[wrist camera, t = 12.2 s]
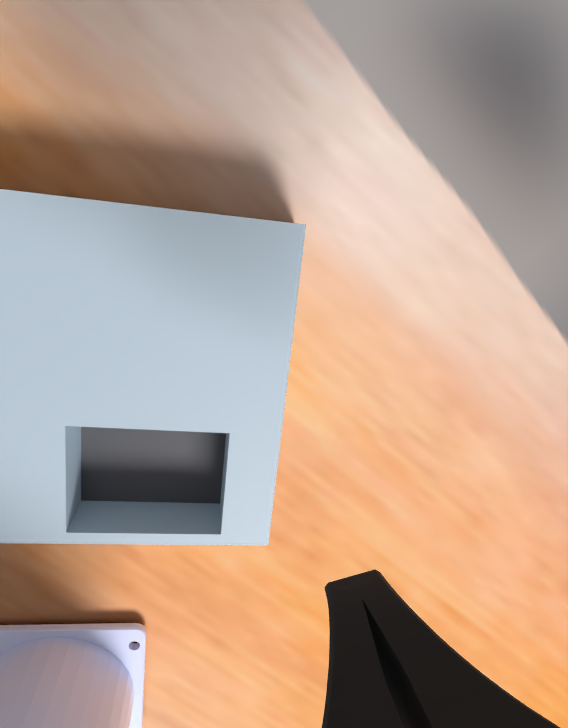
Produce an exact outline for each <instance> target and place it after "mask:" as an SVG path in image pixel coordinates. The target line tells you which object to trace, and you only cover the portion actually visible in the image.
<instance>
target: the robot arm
mask: <svg viewBox="0 0 568 728" xmlns="http://www.w3.org/2000/svg"><path fill="white" fill-rule="evenodd" d="M325 592H326V596H327V600H328V607H329V622H330V650H329V670H328V682H327V693H326V702H325V710H324V717H323V724H322V728H560V727H558V726H557V725H555V724H554V723H552V722H551V721H549V720H547V719H546V718H544V717H543V716H541V715H540V714H538V713H536V712H535V711H533V710H532V709H530V708H529V707H527V706H526V705H524V704H523V703H521V702H520V701H519V700H517V699H516V698H514V697H513V696H512V695H510V694H509V693H507V692H506V691H505V690H503V689H502V688H501V687H499V686H498V685H497V684H495V683H494V682H493V681H491V680H490V679H489V678H487V677H486V676H485V675H484V674H482V673H481V672H480V671H479V670H477V669H476V668H475V667H474V666H472V665H471V664H470V663H469V662H468V661H466V660H465V659H464V658H463V657H462V656H461V655H459V654H458V653H457V652H456V651H455V650H454V649H453V648H451V647H450V646H449V645H448V644H447V643H446V642H445V641H444V640H443V639H441V638H440V637H439V636H438V635H437V634H436V633H435V632H434V631H433V630H432V629H431V628H430V627H429V626H428V625H427V624H426V623H425V622H424V621H423V620H422V619H421V618H420V617H419V616H418V615H417V614H416V613H415V612H414V611H413V610H412V609H411V608H410V607H409V606H408V605H407V604H406V603H405V602H404V600H403V599H402V598H401V597H400V596H399V595H398V594H397V593H396V592H395V590H394V589H393V588H392V587H391V586H390V584H389V583H388V582H387V581H386V579H385V578H384V577H383V576H382V574H381V573H380V572H379V571H377V570H372V571H368V572H365V573H361V574H358V575H354V576H350V577H347V578H343V579H340V580H336V581H333V582H329V583H328V584H327V585H326V586H325ZM133 641H136V642H138V643H136V644H135V643H132V642H133ZM145 652H146V628H145V627H144V625H142V624H140V623H102V624H42V625H0V728H142V720H143V697H144V675H145Z"/></svg>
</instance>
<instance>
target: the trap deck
mask: <svg viewBox="0 0 568 728" xmlns="http://www.w3.org/2000/svg"><path fill="white" fill-rule="evenodd" d="M305 228H306V224H297V223H288V222H280V221H271V220H263V219H254V218H245V217H237V216H228V215H220V214H211V213H203V212H194V211H185V210H177V209H168V208H160V207H151V206H142V205H134V204H125V203H117V202H108V201H100V200H91V199H82V198H74V197H65V196H57V195H48V194H40V193H31V192H22V191H14V190H5V189H0V543H41V544H161V545H268V542H269V533H270V525H271V516H272V508H273V499H274V491H275V482H276V474H277V466H278V457H279V449H280V440H281V432H282V423H283V415H284V406H285V398H286V389H287V381H288V372H289V364H290V355H291V347H292V338H293V330H294V322H295V313H296V305H297V296H298V288H299V279H300V271H301V262H302V254H303V245H304V237H305Z"/></svg>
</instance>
